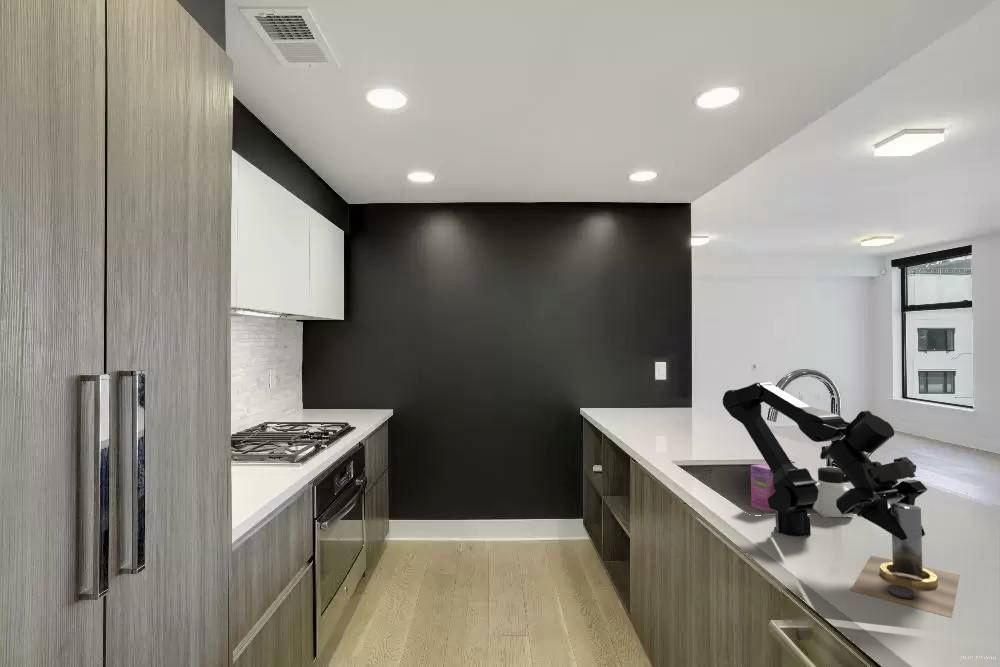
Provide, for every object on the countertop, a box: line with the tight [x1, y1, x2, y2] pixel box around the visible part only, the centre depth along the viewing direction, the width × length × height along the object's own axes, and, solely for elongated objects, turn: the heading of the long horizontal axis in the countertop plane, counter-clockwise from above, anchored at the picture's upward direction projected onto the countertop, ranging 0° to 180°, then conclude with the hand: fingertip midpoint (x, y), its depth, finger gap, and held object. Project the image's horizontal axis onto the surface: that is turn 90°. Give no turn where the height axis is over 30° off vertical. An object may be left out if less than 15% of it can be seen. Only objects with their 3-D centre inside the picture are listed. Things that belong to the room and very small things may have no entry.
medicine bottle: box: [812, 466, 854, 518], centre depth 139 cm, size 7×7×12 cm
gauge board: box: [849, 555, 960, 619], centre depth 98 cm, size 21×14×2 cm, turn 136°
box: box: [750, 462, 776, 513], centre depth 145 cm, size 10×6×12 cm, turn 117°
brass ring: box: [879, 562, 938, 589], centre depth 99 cm, size 8×8×1 cm
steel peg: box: [890, 503, 924, 575], centre depth 100 cm, size 4×4×12 cm
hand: (914, 537), depth 98 cm, fingers closed on steel peg, 4 cm apart
